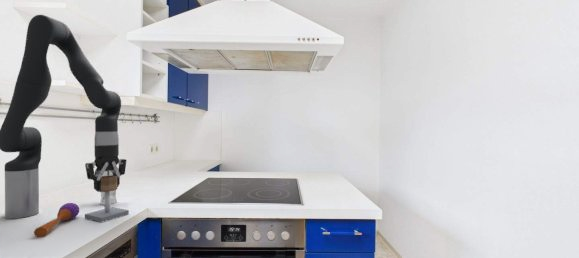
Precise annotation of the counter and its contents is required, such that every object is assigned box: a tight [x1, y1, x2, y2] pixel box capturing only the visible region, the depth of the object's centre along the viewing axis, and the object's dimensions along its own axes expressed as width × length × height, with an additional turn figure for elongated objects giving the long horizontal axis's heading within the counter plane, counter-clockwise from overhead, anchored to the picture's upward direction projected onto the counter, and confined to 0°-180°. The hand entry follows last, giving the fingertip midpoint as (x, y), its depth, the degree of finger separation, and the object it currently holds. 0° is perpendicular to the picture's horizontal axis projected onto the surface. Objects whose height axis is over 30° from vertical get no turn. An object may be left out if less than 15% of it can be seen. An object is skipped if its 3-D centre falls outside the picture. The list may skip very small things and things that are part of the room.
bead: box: [96, 175, 118, 193], centre depth 104 cm, size 6×6×5 cm
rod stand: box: [84, 191, 130, 223], centre depth 104 cm, size 10×10×11 cm
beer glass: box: [99, 170, 117, 206], centre depth 121 cm, size 7×7×15 cm
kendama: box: [33, 202, 80, 238], centre depth 94 cm, size 6×6×20 cm
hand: (107, 188), depth 104 cm, fingers closed on bead, 6 cm apart
